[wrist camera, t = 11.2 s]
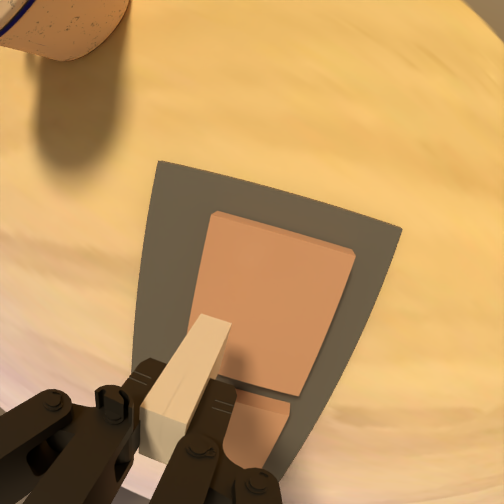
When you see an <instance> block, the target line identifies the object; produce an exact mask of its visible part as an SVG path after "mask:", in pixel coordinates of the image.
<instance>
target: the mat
mask: <svg viewBox="0 0 504 504" xmlns="http://www.w3.org/2000/svg"><path fill="white" fill-rule="evenodd" d="M216 211H221V212H224V213H228V214H232V215H235V216H239V217H242V218H246V219H250V220H253V221H257V222H260V223H264V224H267V225H271V226H274V227H278V228H281V229H285V230H288V231H292V232H295V233H299V234H302V235H306V236H309V237H312V238H316V239H319V240H323V241H326V242H329V243H333V244H336V245H339V246H343V247H346V248H349V249H352V250H353V252H354V254H355V256H356V257H355V260H354V263H353V266H352V268H351V271H350V274H349V277H348V279H347V282H346V285H345V288H344V290H343V293H342V295H341V298H340V301H339V303H338V306H337V308H336V311H335V313H334V316H333V319H332V321H331V323H330V326H329V328H328V331H327V333H326V336H325V338H324V340H323V343H322V345H321V348H320V350H319V352H318V355H317V357H316V359H315V361H314V364H313V366H312V368H311V370H310V373H309V375H308V377H307V379H306V381H305V384H304V386H303V388H302V390H301V392H300V394H299V396H295V395H291V394H287V393H283V392H279V391H275V390H271V389H267V388H264V387H260V386H256V385H253V384H249V383H246V382H242V381H239V380H236V379H232V378H229V377H226V376H223V375H219V374H217V377H216V379H215V380H218V381H221V382H224V383H227V384H231V385H234V386H235V388H236V389H240V390H243V391H246V392H250V393H254V394H257V395H261V396H265V397H268V398H272V399H276V400H280V401H284V402H288V403H290V413H289V417H288V419H287V421H286V423H285V425H284V427H283V429H282V431H281V433H280V435H279V437H278V439H277V441H276V443H275V445H274V447H273V449H272V450H271V452H270V454H269V456H268V458H267V460H266V462H265V463H264V465H263V467H262V469H265V470H267V471H268V472H270V473H272V474H273V475H274V476H275V477H276V478H277V481H278V483H279V481H280V480H281V478H282V477H283V475H284V474H285V472H286V471H287V469H288V468H289V466H290V464H291V463H292V461H293V460H294V458H295V457H296V455H297V453H298V452H299V450H300V449H301V447H302V445H303V444H304V442H305V440H306V439H307V437H308V435H309V434H310V432H311V430H312V429H313V427H314V425H315V423H316V422H317V420H318V418H319V416H320V415H321V413H322V411H323V409H324V407H325V406H326V404H327V402H328V400H329V398H330V396H331V395H332V393H333V391H334V389H335V387H336V385H337V383H338V381H339V379H340V377H341V375H342V373H343V371H344V369H345V367H346V365H347V363H348V361H349V359H350V357H351V355H352V353H353V351H354V349H355V347H356V344H357V342H358V340H359V338H360V336H361V334H362V331H363V329H364V327H365V325H366V322H367V320H368V318H369V316H370V313H371V311H372V309H373V306H374V304H375V301H376V299H377V297H378V294H379V292H380V289H381V287H382V284H383V282H384V279H385V276H386V274H387V271H388V269H389V266H390V263H391V261H392V258H393V255H394V252H395V250H396V247H397V244H398V241H399V238H400V235H401V232H402V228H400V227H398V226H395V225H392V224H389V223H386V222H383V221H380V220H377V219H374V218H371V217H368V216H365V215H362V214H359V213H356V212H353V211H349V210H346V209H343V208H340V207H337V206H333V205H330V204H327V203H324V202H320V201H317V200H313V199H310V198H307V197H303V196H300V195H296V194H293V193H289V192H286V191H282V190H279V189H275V188H271V187H268V186H264V185H260V184H256V183H253V182H249V181H245V180H241V179H237V178H233V177H229V176H225V175H221V174H217V173H213V172H209V171H205V170H201V169H196V168H192V167H188V166H183V165H179V164H174V163H170V162H165V161H158V164H157V169H156V174H155V179H154V184H153V189H152V194H151V200H150V206H149V211H148V217H147V224H146V230H145V237H144V243H143V250H142V258H141V265H140V273H139V282H138V291H137V301H136V311H135V323H134V336H133V351H132V370H131V374H132V372H134V370H135V369H136V367H137V366H138V365H139V363H140V362H142V361H144V360H146V359H148V358H153V359H156V360H158V361H161V362H163V363H166V364H168V363H169V361H170V360H171V358H172V356H173V355H174V353H175V352H176V350H177V349H178V347H179V346H180V344H181V343H182V341H183V340H184V338H185V337H186V335H187V330H188V325H189V319H190V314H191V309H192V303H193V298H194V293H195V288H196V283H197V278H198V273H199V268H200V263H201V259H202V254H203V249H204V244H205V240H206V235H207V231H208V226H209V222H210V217H211V214H213V213H215V212H216Z"/></svg>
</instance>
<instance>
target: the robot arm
mask: <svg viewBox="0 0 504 504" xmlns="http://www.w3.org/2000/svg"><path fill="white" fill-rule="evenodd" d="M231 325H232V323H230V322H227V321H223V320H220V319H217V318H214V317H211V316H208V315H204V314H200V316H199V317H198V319H197V320H196V322H195V323H194V325H193V326H192V328H191V329H190V331H189V332H188V334H187V335H186V337H185V338H184V340H183V341H182V343H181V344H180V346H179V347H178V349H177V350H176V352H175V353H174V355H173V356H172V358H171V360H170V361H169V363H168V364H166V363H163V362H161V361H158V360H156V359H153V358H148V359H146V360H144V361H142V362H140V363H139V365H138V366H137V367H136V369H135V370H134V372H132V374H131V375H130V376H129V378H128V379H127V380H126V381H125V383H124V384H123V385H122V387H120V386H116V385H105V386H101V387H99V388H98V389H96V390H95V401H96V407H86V406H82V405H77V404H73V403H72V402H71V399H70V398H69V396H68V395H67V394H66V393H64V392H62V391H60V390H56V389H48V390H45V391H42V392H40V393H39V394H37V395H35V396H34V397H32V398H30V399H28V400H27V401H25V402H23V403H22V404H20V405H18V406H17V407H15V408H13V409H11V410H10V411H8V412H6V413H5V414H3V415H2V416H0V504H15V503H17V502H18V501H19V500H21V499H22V498H23V497H25V496H26V495H28V494H29V493H30V492H31V493H30V494H29V496H28V497H27V498H26V500H25V501H24V502H23V504H111V503H112V501H113V499H114V497H115V495H116V494H117V492H118V490H119V488H120V486H121V485H122V483H123V481H124V479H125V477H126V476H127V474H128V472H129V470H130V468H131V467H132V465H133V461H134V454H135V452H136V451H137V449H138V447H139V454H142V455H144V456H146V457H149V458H151V459H154V460H156V461H159V462H161V463H164V464H167V466H166V468H165V471H164V473H163V475H162V477H161V479H160V481H159V483H158V485H157V488H156V490H155V492H154V494H153V496H152V498H151V500H150V503H149V504H282V498H281V492H280V487H279V483H278V481H277V478H276V477H275V476H274V475H273V474H272V473H270V472H268V471H267V470H265V469H261V468H256V467H254V468H247V469H243V468H242V467H240V466H238V465H236V464H235V463H233V462H232V461H231V460H230V459H229V458H228V457H227V456H226V454H225V453H224V450H223V441H224V437H225V434H226V431H227V428H228V424H229V421H230V418H231V415H232V411H233V408H234V405H235V401H236V398H237V393H236V389H235V386H234V385H231V384H227V383H224V382H221V381H218V380H215V379H216V377H217V374H218V372H219V370H220V367H221V363H222V359H223V355H224V352H225V348H226V344H227V340H228V336H229V332H230V329H231Z"/></svg>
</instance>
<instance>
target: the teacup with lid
mask: <svg viewBox="0 0 504 504" xmlns="http://www.w3.org/2000/svg"><path fill="white" fill-rule="evenodd" d="M128 3H129V0H0V46H3V47H8V48H12V49H16V50H20V51H24V52H28V53H32V54H36V55H39V56H43V57H47V58H50V59H54V60H57V61H70V60H74V59H77V58H80V57H82V56H84V55H86V54H88V53H89V52H91V51H92V50H94V49H95V48H96V47H98V46H99V45H100V44H101V43H102V42H103V41H104V40H105V39H106V38H107V37H108V36H109V35H110V34H111V33H112V32H113V30H114V29H115V28H116V26H117V25H118V24H119V22H120V20H121V19H122V17H123V15H124V13H125V11H126V8H127V6H128Z"/></svg>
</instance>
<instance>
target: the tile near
mask: <svg viewBox="0 0 504 504" xmlns="http://www.w3.org/2000/svg"><path fill="white" fill-rule="evenodd" d="M355 257H356V256H355V254H354V252H353V250H352V249H349V248H346V247H343V246H339V245H336V244H333V243H329V242H326V241H323V240H319V239H316V238H312V237H309V236H306V235H302V234H299V233H295V232H292V231H288V230H285V229H281V228H278V227H274V226H271V225H267V224H264V223H260V222H257V221H253V220H250V219H246V218H242V217H239V216H235V215H232V214H228V213H224V212H221V211H216V212H215V213H213V214H211V217H210V222H209V226H208V231H207V235H206V240H205V244H204V249H203V254H202V259H201V263H200V268H199V273H198V278H197V283H196V288H195V293H194V298H193V303H192V309H191V314H190V319H189V325H188V330H187V334H188V332H189V331H190V329H191V328H192V326H193V325H194V323H195V322H196V320H197V319H198V317H199V316H200V314H204V315H208V316H211V317H214V318H217V319H220V320H223V321H227V322H230V323H232V325H231V329H230V332H229V336H228V340H227V344H226V348H225V352H224V355H223V359H222V363H221V367H220V370H219V372H218V374H219V375H223V376H226V377H229V378H232V379H236V380H239V381H242V382H246V383H249V384H253V385H256V386H260V387H264V388H267V389H271V390H275V391H279V392H283V393H287V394H291V395H295V396H299V394H300V392H301V390H302V388H303V386H304V384H305V381H306V379H307V377H308V375H309V373H310V370H311V368H312V366H313V364H314V361H315V359H316V357H317V355H318V352H319V350H320V348H321V345H322V343H323V340H324V338H325V336H326V333H327V331H328V328H329V326H330V323H331V321H332V319H333V316H334V313H335V311H336V308H337V306H338V303H339V301H340V298H341V295H342V293H343V290H344V288H345V285H346V282H347V279H348V277H349V274H350V271H351V268H352V266H353V263H354V260H355Z"/></svg>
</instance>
